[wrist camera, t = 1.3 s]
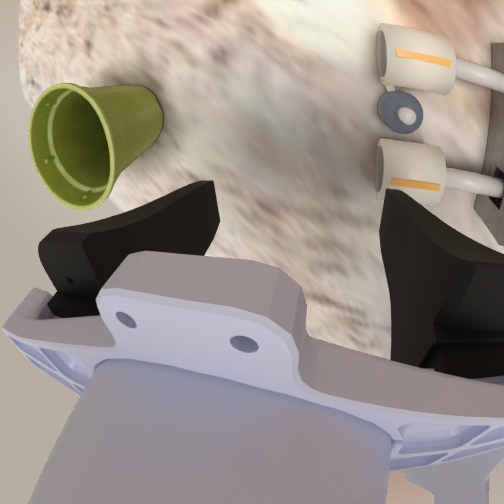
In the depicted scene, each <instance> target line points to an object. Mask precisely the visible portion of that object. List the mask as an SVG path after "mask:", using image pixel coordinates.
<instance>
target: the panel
mask: <svg viewBox="0 0 504 504" xmlns="http://www.w3.org/2000/svg"><path fill="white" fill-rule="evenodd" d="M491 54H492V69H493V70H495V71H498V72H501V73H503V74H504V43H491ZM482 174H483V175H487V176H492V177H496V178H500V179H504V93H501V92H498V91H496V90H493V89H492V93H491V110H490V122H489V131H488V139H487V146H486V153H485V159H484V164H483V170H482ZM474 209H475V211H476V212H477V213H478V215H479V216H480V218H481V219H482V220H483V222H484V223H485V225H486V226H487V228H488V229H489V230H490V232H491V233H492V235H493V236H494V238H495V240H496V241H497V243H498V244H499V245H502V246H504V196H503V199H502V198H497V197H492V196H487V195H482V194H477V197H476V201H475V205H474Z"/></svg>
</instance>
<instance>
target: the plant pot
mask: <svg viewBox="0 0 504 504" xmlns="http://www.w3.org/2000/svg"><path fill="white" fill-rule="evenodd" d="M162 125H163V113H162V109H161V108H160V106H159V104H158V102H157V100H156V97H155V95H154V94H153V93H152V92H151V91H150V90H148V89H147V88H145V87H143V86H139V85H123V86H107V87H95V88H88V87H81V86H78V85H76V84H72V83H61V84H56V85H53V86H51V87H49V88H48V89H46V90H45V91H44V92H43V93H42V94H41V95H40V96H39V98H38V99H37V101H36V103H35V105H34V107H33V110H32V113H31V117H30V121H29V136H28V137H29V146H30V152H31V157H32V160H33V163H34V166H35V168H36V171H37V173H38V175H39V177H40V179H41V180H42V182H43V184H44V185H45V186H46V188H47V189H48V190H49V191H50V192H51V194H52V195H53V196H54V197H55V198H56V199H57V200H59V201H60V202H62V203H63V204H64V205H66V206H68V207H70V208H72V209H76V210H91V209H93V208H96V207H98V206H99V205H101V204H102V203H103V202H104V201H105V200H106V199H107V197H108V196H109V194H110V193H111V191H112V188H113V186H114V183H115V182H116V180H117V178H118V177H119V175H120V173H121V172H122V171H123V170H124V169H125V168H126V167H128V166H129V165H130V164H131V163H132V162H133V161H134V160H135V159H136V158H137V157H138V156H139V155H140V154H142V153H143V152H144V151H145V150H146V149H147V148H149V147H150V146H151V145H152V144H153V143H154V142H155V141H156V140H157V138H158V137H159V135H160V132H161V129H162Z"/></svg>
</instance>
